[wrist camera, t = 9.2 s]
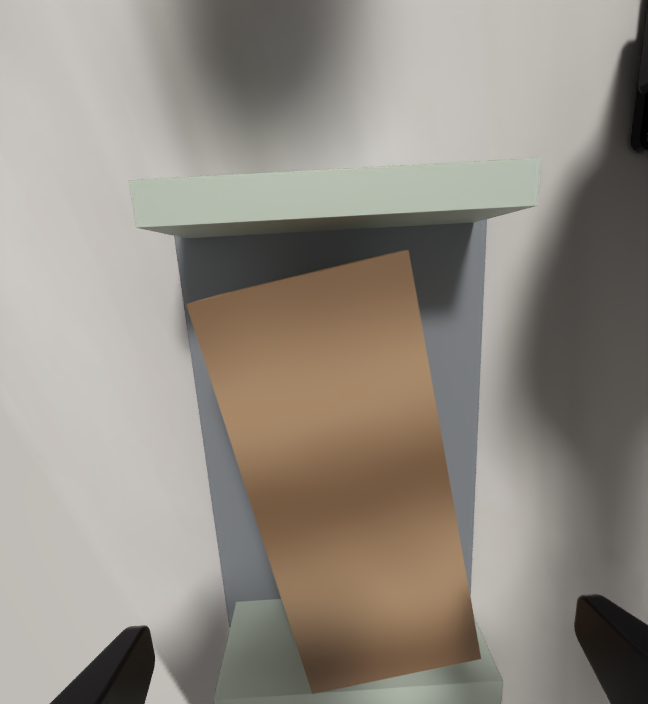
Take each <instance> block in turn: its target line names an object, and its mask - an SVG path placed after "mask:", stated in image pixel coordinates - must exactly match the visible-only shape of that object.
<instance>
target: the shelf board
mask: <svg viewBox="0 0 648 704" xmlns="http://www.w3.org/2000/svg"><path fill="white" fill-rule="evenodd" d="M186 305H187V308H188V312H189V315H190V318H191V321H192V324H193V327H194V330H195V333H196V336H197V339H198V342H199V345H200V349H201V352H202V355H203V358H204V361H205V364H206V367H207V370H208V373H209V376H210V379H211V383H212V386H213V389H214V392H215V395H216V398H217V401H218V404H219V407H220V410H221V413H222V417H223V420H224V423H225V426H226V429H227V432H228V435H229V438H230V441H231V444H232V447H233V450H234V454H235V457H236V460H237V463H238V466H239V469H240V472H241V475H242V478H243V481H244V484H245V488H246V491H247V494H248V497H249V500H250V503H251V506H252V509H253V512H254V515H255V518H256V521H257V525H258V528H259V531H260V534H261V537H262V540H263V543H264V546H265V549H266V552H267V555H268V559H269V562H270V565H271V568H272V571H273V574H274V577H275V580H276V583H277V586H278V589H279V593H280V596H281V599H282V602H283V605H284V608H285V611H286V614H287V617H288V620H289V623H290V626H291V630H292V633H293V636H294V639H295V642H296V645H297V648H298V651H299V654H300V657H301V660H302V664H303V667H304V670H305V673H306V676H307V679H308V682H309V685H310V688H311V691H312V694H316V693H321V692H325V691H330V690H335V689H340V688H345V687H349V686H354V685H359V684H364V683H369V682H373V681H378V680H383V679H388V678H393V677H397V676H402V675H407V674H412V673H417V672H421V671H426V670H431V669H436V668H441V667H445V666H450V665H455V664H460V663H465V662H469V661H474V660H479V659H481V654H480V649H479V643H478V638H477V632H476V626H475V621H474V615H473V609H472V604H471V598H470V593H469V587H468V581H467V576H466V570H465V564H464V559H463V553H462V548H461V542H460V536H459V531H458V525H457V519H456V514H455V508H454V503H453V497H452V491H451V486H450V480H449V474H448V469H447V463H446V457H445V452H444V446H443V441H442V435H441V429H440V424H439V418H438V412H437V407H436V401H435V396H434V390H433V384H432V379H431V373H430V367H429V362H428V356H427V351H426V345H425V339H424V334H423V328H422V322H421V317H420V311H419V306H418V300H417V294H416V289H415V283H414V277H413V272H412V266H411V261H410V255H409V250H406V251H399V252H393V253H387V254H383V255H379V256H375V257H370V258H366V259H362V260H358V261H354V262H350V263H346V264H342V265H338V266H334V267H329V268H325V269H321V270H317V271H313V272H309V273H305V274H301V275H297V276H293V277H288V278H284V279H280V280H276V281H272V282H268V283H264V284H260V285H256V286H252V287H247V288H243V289H239V290H235V291H231V292H227V293H223V294H219V295H215V296H212V297H208V298H205V299H202V300H198V301H195V302H192V303H189V304H186Z"/></svg>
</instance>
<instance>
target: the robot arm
mask: <svg viewBox="0 0 648 704" xmlns="http://www.w3.org/2000/svg"><path fill="white" fill-rule="evenodd" d="M647 133H648V6H647V14H646V22H645V30H644V38H643V47H642V55H641V63H640V71H639V79H638V87H637V96H636V104H635V112H634V120H633V128H632V136H631V146H632V148H633V150H634V151H635V152H637V153H640V154H648V141H647V140H646V136H647ZM574 628H575V633H576V636H577V639H578V641H579V643H580V645H581V647H582V649H583V651H584V653H585V655H586V657H587V659H588V661H589V662H590V664H591V666H592V668H593V670H594V672H595V674H596V676H597V678H598V680H599V682H600V684H601V686H602V688H603V690H604V691H605V693H606V695H607V697H608V699H609V701H610V703H611V704H648V625H647V624H645V623H644V622H642V621H641V620H639V619H638V618H636V617H635V616H633V615H631V614H630V613H628V612H627V611H625V610H624V609H622V608H621V607H619V606H618V605H616V604H614V603H613V602H611V601H610V600H608V599H607V598H605V597H603V596H601V595H598V594H592V595H581V596H580V597H579V598H578V600H577V607H576V615H575V623H574ZM154 665H155V653H154V649H153V644H152V639H151V634H150V630H149V628H148V627H147V626H145V625H144V626H131V627H128V628H126V629H125V630H123V631H122V632H121V633H120V634H119V635H118V636H117V637H116V638H115V639H114V640H113V641H112V642H111V643H110V644H109V645H108V646H107V647H106V648H105V649H104V650H103V651H102V652H101V653H100V654H99V655H98V656H97V657H96V658H95V659H94V660H93V661H92V662H91V663H90V664H89V665H88V666H87V667H86V668H85V669H84V670H83V671H82V672H81V673H80V674H79V675H78V676H77V677H76V678H75V679H74V680H73V681H72V682H71V683H70V684H69V685H68V686H67V687H66V688H65V689H64V690H63V691H62V692H61V693H60V694H59V695H58V696H57V697H56V698H55V699H54V700H53V701H52V702H51V703H50V704H144V703H145V700H146V696H147V692H148V689H149V685H150V681H151V677H152V674H153V670H154Z"/></svg>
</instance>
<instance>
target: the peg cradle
mask: <svg viewBox="0 0 648 704" xmlns="http://www.w3.org/2000/svg"><path fill="white" fill-rule="evenodd" d="M540 164H541V158H529V159H511V160H492V161H474V162H455V163H436V164H418V165H399V166H380V167H362V168H343V169H325V170H306V171H287V172H269V173H250V174H231V175H213V176H194V177H176V178H157V179H138V180H129V187H130V193H131V199H132V205H133V211H134V217H135V223H136V228H140V229H145V230H150V231H155V232H160V233H164V234H169V235H174V238H175V245H176V252H177V259H178V266H179V273H180V281H181V288H182V295H183V302H184V309H185V316H186V323H187V330H188V337H189V344H190V351H191V358H192V365H193V373H194V380H195V387H196V394H197V401H198V408H199V415H200V422H201V429H202V436H203V443H204V450H205V457H206V465H207V472H208V479H209V486H210V493H211V500H212V507H213V514H214V521H215V528H216V535H217V542H218V549H219V557H220V564H221V571H222V578H223V585H224V592H225V599H226V606H227V613H228V620H229V627H230V631H229V635H228V639H227V644H226V648H225V652H224V657H223V661H222V665H221V669H220V674H219V678H218V682H217V687H216V691H215V695H214V699H213V702H214V704H501V701H502V687H503V679H502V677H501V675H500V673H499V671H498V668H497V666H496V664H495V662H494V660H493V657H492V655H491V653H490V651H489V649H488V646H487V644H486V642H485V640H484V637H483V635H482V633H481V631H480V629H479V626H478V624H477V622H476V620H475V618H474V621H475V626H476V632H477V638H478V643H479V649H480V654H481V659H479V660H474V661H469V662H465V663H460V664H455V665H450V666H445V667H441V668H436V669H431V670H426V671H421V672H417V673H412V674H407V675H402V676H397V677H393V678H388V679H383V680H378V681H373V682H369V683H364V684H359V685H354V686H349V687H345V688H340V689H335V690H330V691H325V692H321V693H316V694H312V691H311V688H310V685H309V682H308V679H307V676H306V673H305V670H304V667H303V664H302V660H301V657H300V654H299V651H298V648H297V645H296V642H295V639H294V636H293V633H292V630H291V626H290V623H289V620H288V617H287V614H286V611H285V608H284V605H283V602H282V599H281V596H280V593H279V589H278V586H277V583H276V580H275V577H274V574H273V571H272V568H271V565H270V562H269V559H268V555H267V552H266V549H265V546H264V543H263V540H262V537H261V534H260V531H259V528H258V525H257V521H256V518H255V515H254V512H253V509H252V506H251V503H250V500H249V497H248V494H247V491H246V488H245V484H244V481H243V478H242V475H241V472H240V469H239V466H238V463H237V460H236V457H235V454H234V450H233V447H232V444H231V441H230V438H229V435H228V432H227V429H226V426H225V423H224V420H223V417H222V413H221V410H220V407H219V404H218V401H217V398H216V395H215V392H214V389H213V386H212V383H211V379H210V376H209V373H208V370H207V367H206V364H205V361H204V358H203V355H202V352H201V349H200V345H199V342H198V339H197V336H196V333H195V330H194V327H193V324H192V321H191V318H190V315H189V312H188V308H187V305H186V304H189V303H192V302H195V301H198V300H202V299H205V298H208V297H212V296H215V295H219V294H223V293H227V292H231V291H235V290H239V289H243V288H247V287H252V286H256V285H260V284H264V283H268V282H272V281H276V280H280V279H284V278H288V277H293V276H297V275H301V274H305V273H309V272H313V271H317V270H321V269H325V268H329V267H334V266H338V265H342V264H346V263H350V262H354V261H358V260H362V259H366V258H370V257H375V256H379V255H383V254H387V253H393V252H399V251H406V250H409V255H410V261H411V266H412V272H413V277H414V283H415V289H416V294H417V300H418V306H419V311H420V317H421V322H422V328H423V334H424V339H425V345H426V351H427V356H428V362H429V367H430V373H431V379H432V384H433V390H434V396H435V401H436V407H437V412H438V418H439V424H440V429H441V435H442V441H443V446H444V452H445V457H446V463H447V469H448V474H449V480H450V486H451V491H452V497H453V503H454V508H455V514H456V519H457V525H458V531H459V536H460V542H461V548H462V553H463V559H464V564H465V570H466V576H467V581H468V587H469V593H470V594H471V571H472V548H473V525H474V502H475V479H476V456H477V433H478V410H479V387H480V364H481V341H482V318H483V295H484V272H485V250H486V227H487V219H489V218H493V217H496V216H500V215H504V214H508V213H511V212H515V211H519V210H523V209H526V208H530V207H534V206H537V205H538V192H539V178H540Z"/></svg>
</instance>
